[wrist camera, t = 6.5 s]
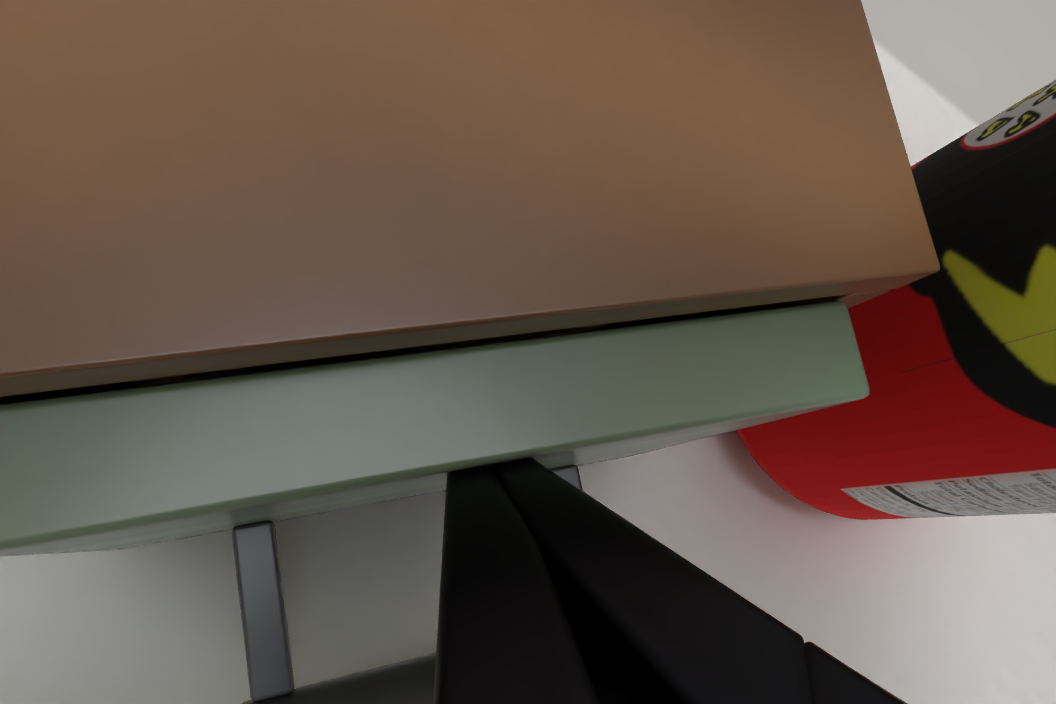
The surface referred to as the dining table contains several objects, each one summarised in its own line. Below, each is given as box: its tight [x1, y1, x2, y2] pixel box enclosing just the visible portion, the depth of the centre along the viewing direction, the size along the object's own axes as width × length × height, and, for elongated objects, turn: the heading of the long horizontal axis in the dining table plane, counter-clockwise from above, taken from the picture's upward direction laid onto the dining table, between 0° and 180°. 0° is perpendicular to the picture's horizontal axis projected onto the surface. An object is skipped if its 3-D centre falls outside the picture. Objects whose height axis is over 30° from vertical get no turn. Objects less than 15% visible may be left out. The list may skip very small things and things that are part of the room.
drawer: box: [0, 301, 870, 704], centre depth 11 cm, size 14×9×7 cm, turn 11°
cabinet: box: [0, 0, 940, 404], centre depth 12 cm, size 11×10×8 cm
